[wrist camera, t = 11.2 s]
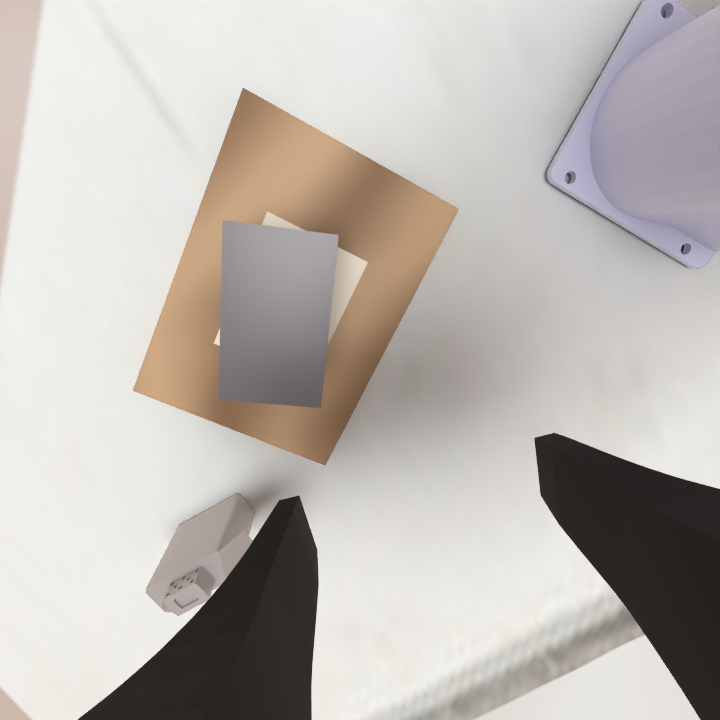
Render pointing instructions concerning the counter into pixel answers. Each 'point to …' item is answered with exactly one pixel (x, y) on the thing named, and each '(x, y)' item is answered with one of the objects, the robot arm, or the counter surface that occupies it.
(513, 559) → the counter surface
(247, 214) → the board
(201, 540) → the lighter
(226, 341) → the block
